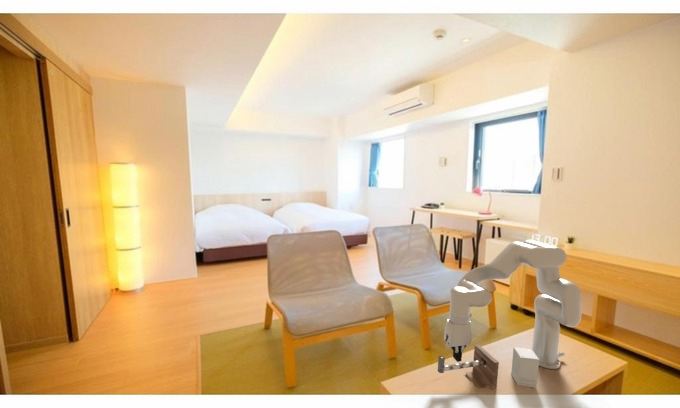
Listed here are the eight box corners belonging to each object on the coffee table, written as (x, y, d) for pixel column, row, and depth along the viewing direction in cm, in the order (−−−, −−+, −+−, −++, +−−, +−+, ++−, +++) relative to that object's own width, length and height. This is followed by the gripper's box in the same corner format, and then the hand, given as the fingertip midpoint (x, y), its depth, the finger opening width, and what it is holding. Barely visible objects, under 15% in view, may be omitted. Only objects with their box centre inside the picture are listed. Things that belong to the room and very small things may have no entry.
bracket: (476, 369, 130) (478, 344, 129) (496, 389, 119) (498, 362, 117) (462, 371, 129) (464, 346, 127) (481, 392, 117) (483, 364, 116)
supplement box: (537, 388, 120) (540, 359, 118) (517, 385, 121) (519, 357, 119) (529, 375, 127) (532, 348, 125) (510, 373, 128) (513, 346, 127)
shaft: (479, 362, 124) (480, 349, 123) (483, 366, 122) (484, 353, 121) (436, 369, 120) (437, 356, 119) (439, 373, 117) (440, 359, 117)
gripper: (469, 311, 123) (467, 351, 125) (437, 315, 119) (435, 356, 122) (481, 320, 115) (479, 362, 118) (447, 325, 112) (446, 368, 115)
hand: (457, 359), depth 120 cm, fingers closed
